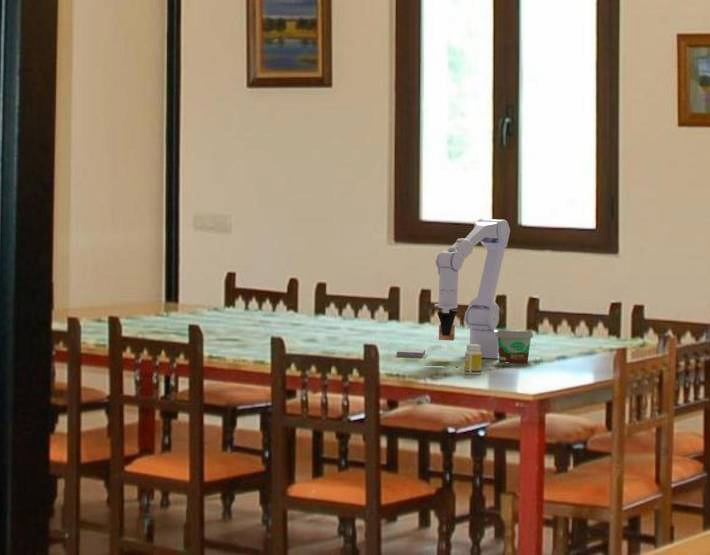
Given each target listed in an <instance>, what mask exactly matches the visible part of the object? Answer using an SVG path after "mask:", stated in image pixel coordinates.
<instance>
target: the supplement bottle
mask: <svg viewBox="0 0 710 555" xmlns="http://www.w3.org/2000/svg"><path fill="white" fill-rule="evenodd" d="M480 349H481V345H478V344H470V343H468V344H466V351H465V353H464V374H465V375H471V376H475V375H481V374H482V361H483V358H482V353H481V352H480Z"/></svg>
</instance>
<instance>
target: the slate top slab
mask: <svg viewBox="0 0 710 555" xmlns="http://www.w3.org/2000/svg"><path fill="white" fill-rule="evenodd" d="M396 353H397V356H398V357H397V358H404V357H421V358H420V359H424V358H423V356H424V355H425V354H426V349H414V348H399V349H398V350H397V351H396Z"/></svg>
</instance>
